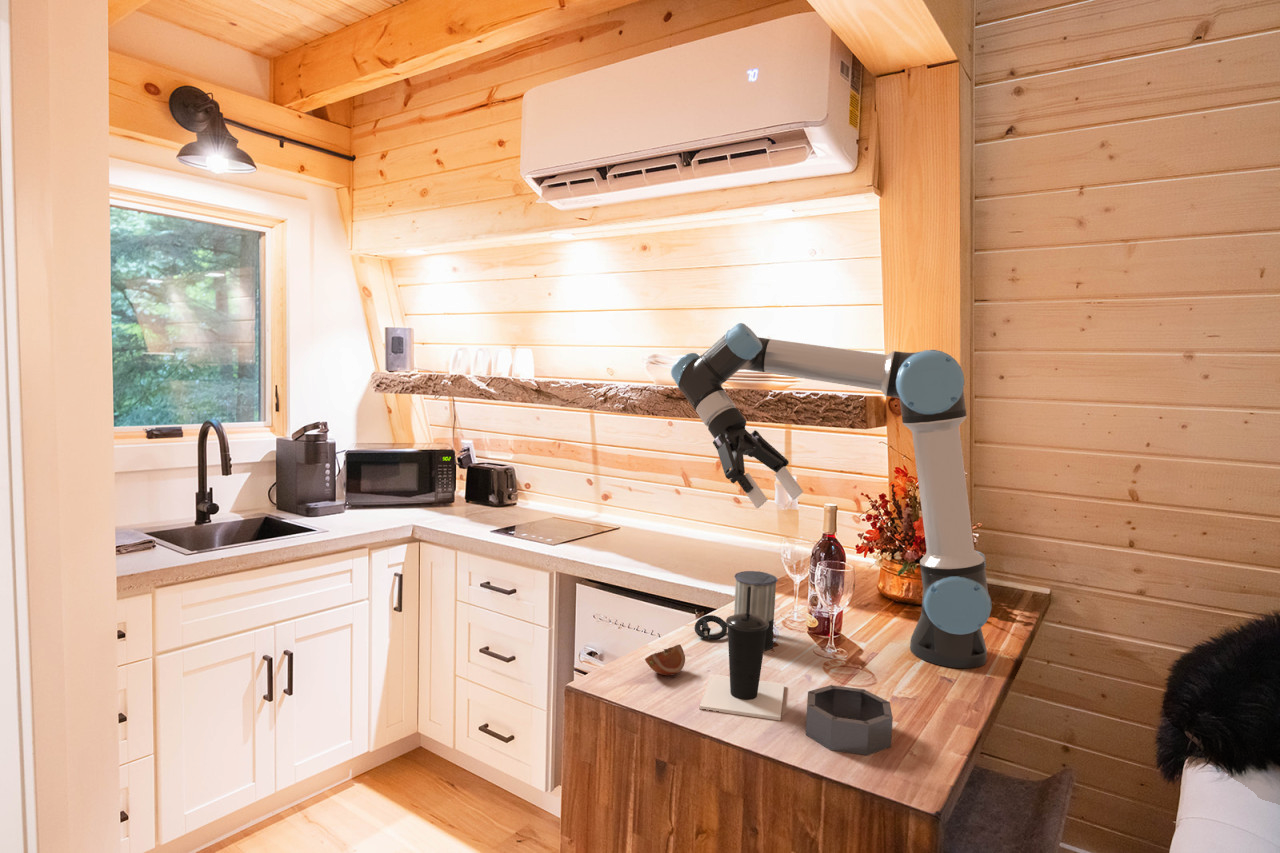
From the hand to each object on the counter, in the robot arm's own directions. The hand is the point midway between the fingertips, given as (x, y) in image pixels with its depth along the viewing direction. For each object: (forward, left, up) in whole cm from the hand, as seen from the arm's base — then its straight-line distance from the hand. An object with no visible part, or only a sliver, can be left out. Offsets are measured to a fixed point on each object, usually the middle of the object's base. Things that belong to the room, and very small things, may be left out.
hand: (780, 500), depth 153 cm
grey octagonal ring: (-14, +25, -34) cm, 44 cm away
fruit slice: (+20, +11, -34) cm, 41 cm away
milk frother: (+9, -11, -34) cm, 37 cm away
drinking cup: (+4, +17, -33) cm, 37 cm away
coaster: (+4, +17, -34) cm, 38 cm away
